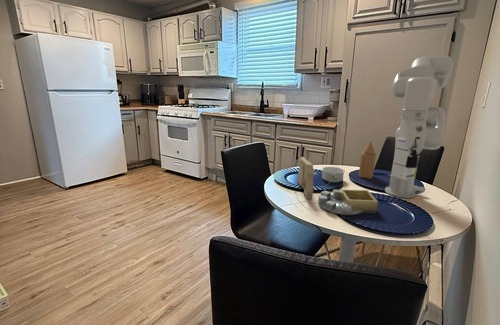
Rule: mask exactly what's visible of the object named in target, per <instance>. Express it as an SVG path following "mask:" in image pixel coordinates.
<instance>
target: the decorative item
mask: <svg viewBox="0 0 500 325" xmlns="http://www.w3.org/2000/svg"><path fill="white" fill-rule="evenodd" d="M376 156H377V153H376V151H375V149H374V146H373V143H372V141H369V143H367V145H366V147H365V148H364V149H363V150H362V153H361V154H360V161H359V163H360V164H359V169H358V177H359V178H362V179H372V178H373V176H374V170H375V163H376V158H377V157H376Z"/></svg>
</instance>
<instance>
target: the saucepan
mask: <svg viewBox="0 0 500 325" xmlns="http://www.w3.org/2000/svg"><path fill="white" fill-rule="evenodd" d="M321 170H322V174H321V178H322V180H324V181H326V182H328V183H339V182H342V181H344V174H345V169H344V168H340V167H337V166H324V167H322V168H321Z"/></svg>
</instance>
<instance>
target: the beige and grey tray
mask: <svg viewBox="0 0 500 325" xmlns="http://www.w3.org/2000/svg"><path fill="white" fill-rule="evenodd" d="M317 201H318V206H319V207H320V209H322V210H324V211H326V212H328V213H331V214H333V215H336V216H337V215H338V216H344V217H346V216H347V217H348V216H349V217H353V216H358V215H361V214H377V212H378V205H379V201H378V199H376V197H375V196H374V195H373V194H372V192H370V191H369V190H368V189H367V190H365V189H344V188H341V189H333V190H332V192H331V191H327V190H323V191H321V192H320V195H318V200H317Z"/></svg>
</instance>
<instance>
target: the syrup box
mask: <svg viewBox="0 0 500 325" xmlns="http://www.w3.org/2000/svg"><path fill="white" fill-rule="evenodd" d="M412 148H415V147H414V146H412ZM413 151H415V150H412V152H413ZM420 155H421V153H420V154H419V157H418V159H417V164H416V168H407V167H406V162H407V156H409V149H407V148H406V147H405V140H404V138H397V141H396V147H394V156H393V160H394V161H392V166H393V167H392V166H391V172H392V174H391V173H390V176H391V175H392V176H395V177H397V178H400V179H403V180H406V179H411V178H415V179H416V175H417V172H418V164H419V160H420Z"/></svg>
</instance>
